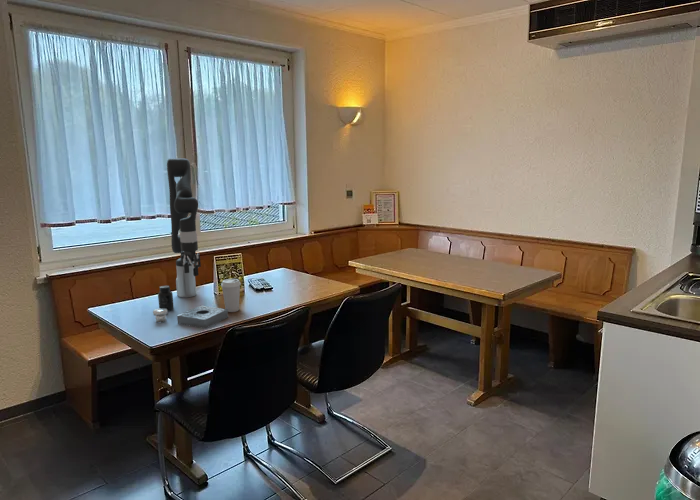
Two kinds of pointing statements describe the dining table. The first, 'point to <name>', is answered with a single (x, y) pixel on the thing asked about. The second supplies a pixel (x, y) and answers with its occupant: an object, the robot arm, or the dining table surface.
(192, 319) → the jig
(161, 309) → the bushing
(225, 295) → the coffee cup
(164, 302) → the supplement bottle
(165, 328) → the dining table surface
